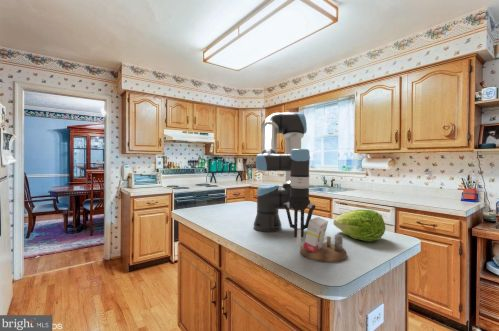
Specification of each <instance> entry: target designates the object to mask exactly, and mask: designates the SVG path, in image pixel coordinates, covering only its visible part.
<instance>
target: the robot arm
mask: <svg viewBox="0 0 499 331" xmlns="http://www.w3.org/2000/svg"><path fill="white" fill-rule="evenodd" d="M260 126H261V128H260V131H261V133H262V138H261V139H262V140H261V150H260V151H261V152H260V153H257V154H256V156H255V169H256V170H257V171H261V172H262V171H263V172H285V181H284V182H283V183H282V187H280V185H278V184H266V185H261V186H259V187H258V188H257V190H256V191H257V193H256V198H257V199H256V215H255V218H254V222H253V229H254V230H256V231H259V232H265V233H266V232H268V233H270V232H272V233H273V232H278V231H280V230H282V222H281V218H280V215H279V210H285V212H286V215H287V220H288V224H289V227H290V228H291V229H293V235H294V236H293V237H294V238H296V247H301V245H302V243H301V242H302V238H304V236H305V230H307V229H308V225H309V221H310V220H311V219H312V215H313V211H314V210H315V208H316V207H317V206H316V204H314V203H313V202H311V200H310V188H309V187H310V159H311V156H310V149H307V148H302V139H303V138H304V136H305V134H306V133H307V131H308V130H307V118H306V115H305V113H303V112H275V113H271V114H270V115H269V116H267V117H266V118H264V120H263V121H262V123H261V125H260ZM278 134H282V137H283V139H284V140H285V153H283V154H282V153H278ZM307 208H309V209H308V213H307V216H306V219H305V210H306V209H307ZM290 210H293V212H294V213H293V214H294V215H293V217H294V218H293V221H292V217H291V216H292V215H291V212H290ZM299 211H300V227H298V218H299V216H298V214H299Z"/></svg>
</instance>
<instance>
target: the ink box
mask: <svg viewBox="0 0 499 331" xmlns="http://www.w3.org/2000/svg"><path fill="white" fill-rule="evenodd" d="M328 223H329V221H328V220H326V219H324V218H322V217H319V216H317V217H314V218H311V220H310V221H309V225H308V228H306V234H305V238H304V243H303V244H304V247H303V248H304V249H306V250H309V251H311V252H313V253H315V252H316V251H318V250H319V249H320V248H322V245H323V243H324V241H325V237H326V233H327V228H328Z"/></svg>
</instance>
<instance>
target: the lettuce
mask: <svg viewBox="0 0 499 331" xmlns="http://www.w3.org/2000/svg"><path fill="white" fill-rule="evenodd" d="M332 223H333V224H332V225H334V227H336V228H337V229H338V230H340V231H341V232H342V233H343V234H345V235H347V236H349V237H351V238H353V239H355V240H361V241H364V242H367V243H368V242H369V243H371V242H374V241H377V240H379V239H381V238H382V237H383V236H384V235H385V232H386V225H385V221H384V218H383V216H382V214H380V213H379V212H377V211H376V210H373V209H355V210H351V211H347V212H344V213H342V214H339V215H337V216H336V217H335V218H333V221H332Z"/></svg>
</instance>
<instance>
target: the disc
mask: <svg viewBox="0 0 499 331" xmlns="http://www.w3.org/2000/svg"><path fill="white" fill-rule="evenodd" d="M343 236H344V235H343V234H334V243H331V242H332V237H331V236H330V235H328V236H326V242H323V245H322V248H320V249H319V250H318V251H316V252H315V253H313V252H311V251H309V250H306V249H304V248H303V247H304V243H302V244H301V246H299V253H300V254H301V255H302V256H303V257H304V258H306V259H308V260H311V261H314V262H319V263H329V264H330V263H333V264H335V263H339V262H343V261H345V260H346V259H347V258H348V253H347V250H346V249H345V248H344V247H343V241H344V240H343Z"/></svg>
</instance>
